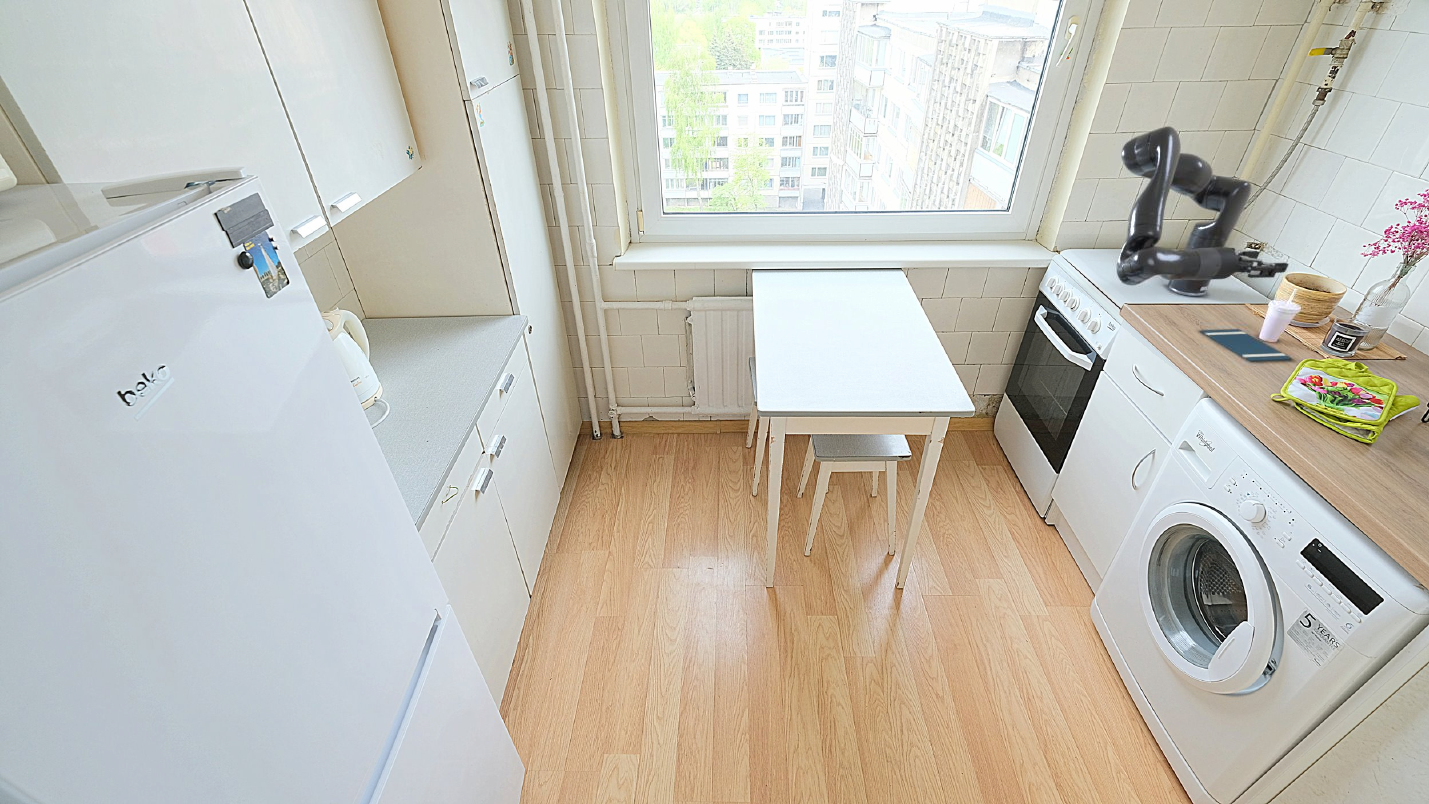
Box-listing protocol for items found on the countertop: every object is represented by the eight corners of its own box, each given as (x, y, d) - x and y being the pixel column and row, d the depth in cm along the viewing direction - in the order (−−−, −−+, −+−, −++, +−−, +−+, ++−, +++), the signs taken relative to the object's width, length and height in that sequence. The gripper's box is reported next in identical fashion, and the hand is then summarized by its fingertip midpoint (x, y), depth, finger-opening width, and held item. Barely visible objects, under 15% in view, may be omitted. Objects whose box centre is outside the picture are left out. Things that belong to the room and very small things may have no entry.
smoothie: (1288, 345, 162) (1315, 294, 155) (1259, 343, 164) (1285, 292, 156) (1275, 334, 168) (1301, 284, 160) (1248, 332, 169) (1272, 282, 161)
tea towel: (1200, 331, 170) (1201, 330, 169) (1237, 330, 170) (1238, 329, 170) (1250, 361, 155) (1251, 360, 155) (1291, 359, 156) (1292, 358, 155)
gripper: (1236, 258, 144) (1303, 256, 145) (1191, 239, 156) (1254, 237, 157) (1222, 289, 148) (1288, 287, 149) (1180, 268, 160) (1241, 266, 161)
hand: (1271, 261), depth 153 cm, fingers open, 8 cm apart
